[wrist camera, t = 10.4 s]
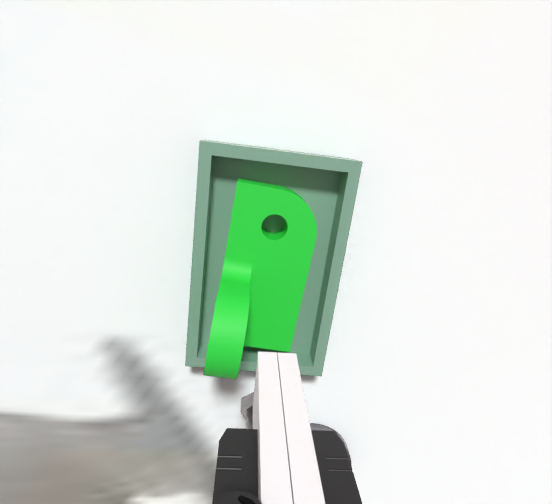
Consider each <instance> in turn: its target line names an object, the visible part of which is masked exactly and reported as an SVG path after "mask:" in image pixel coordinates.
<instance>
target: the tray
mask: <svg viewBox="0 0 552 504" xmlns="http://www.w3.org/2000/svg"><path fill="white" fill-rule="evenodd" d="M361 167H362V161H358V160H354V159H347V158H340V157H332V156H324V155H317V154H309V153H301V152H294V151H286V150H278V149H271V148H263V147H255V146H248V145H240V144H232V143H225V142H217V141H209V140H201V141H200V145H199V160H198V176H197V192H196V207H195V223H194V238H193V254H192V270H191V285H190V301H189V316H188V332H187V347H186V363H185V366H192V367H205V362H206V355H207V349H208V343H209V337H210V332H211V326H212V320H213V315H214V309H215V304H216V299H217V294H218V290H219V285H220V281H221V276H222V270H223V265H224V259H225V253H226V247H227V241H228V234H229V228H230V222H231V216H232V210H233V204H234V198H235V192H236V186H237V180H238V178H242V179H247V180H252V181H258V182H263V183H268V184H273V185H279V186H283V187H286V188H289V189H291V190H293V191H294V192H296V193H297V194H298V195H300V196H301V197H302V198H303V200H304V201H305V202H306V203H307V205H308V206H309V207H310V209H311V211H312V212H313V214H314V217H315V220H316V225H317V237H316V242H315V246H314V250H313V255H312V259H311V263H310V267H309V272H308V276H307V280H306V284H305V289H304V293H303V297H302V301H301V306H300V310H299V314H298V318H297V323H296V327H295V331H294V335H293V340H292V344H291V348H290V352H285V351H278V350H271V349H264V348H257V347H249V346H244V347H243V352H242V358H241V363H240V368H239V370H245V371H256V367H257V357H258V352H277V353H296V355H297V360H298V366H299V371H300V375H312V376H322V371H323V366H324V361H325V355H326V350H327V345H328V340H329V334H330V329H331V324H332V319H333V313H334V308H335V303H336V298H337V293H338V287H339V282H340V277H341V272H342V266H343V261H344V256H345V251H346V245H347V240H348V235H349V230H350V225H351V219H352V214H353V209H354V204H355V198H356V193H357V188H358V183H359V177H360V172H361ZM284 225H285V219H284V218H283V217H282V216H280V215H276V214H273V215H269V216H268V217H266V218H265V219H264V220H263V222H262V227H263V228H264V229H265V230H266V231H267V232H270V233H276V232H279V231H280V230H281V229H282V228H283V227H284Z"/></svg>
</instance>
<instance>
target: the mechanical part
mask: <svg viewBox="0 0 552 504" xmlns="http://www.w3.org/2000/svg"><path fill="white" fill-rule="evenodd" d="M273 214H276V215H280V216H282V217H283V218H284V219H285V225H284V227H283V228H282V229H281V230H280V231H279V232H276V233H270V232H267V231H266V230H265V229H264V228H263V227H262V222H263V220H264V219H265V218H266V217H268V216H269V215H273ZM316 237H317V225H316V220H315V217H314V214H313V212H312V211H311V209H310V207H309V206H308V205H307V203H306V202H305V201H304V200H303V198H302V197H301V196H300V195H298V194H297V193H296V192H294V191H293V190H291V189H289V188H286V187H283V186H279V185H273V184H268V183H263V182H258V181H252V180H247V179H242V178H238V180H237V186H236V192H235V198H234V204H233V210H232V216H231V222H230V228H229V234H228V241H227V247H226V253H225V259H224V265H223V270H222V276H221V281H220V285H219V290H218V294H217V299H216V304H215V309H214V315H213V320H212V326H211V332H210V337H209V343H208V349H207V355H206V362H205V368H204V375H207V376H215V377H222V378H230V379H237V376H238V372H239V368H240V363H241V358H242V352H243V347H244V346H249V347H257V348H264V349H271V350H278V351H285V352H290V348H291V344H292V340H293V335H294V331H295V327H296V323H297V318H298V314H299V310H300V306H301V301H302V297H303V293H304V289H305V284H306V280H307V276H308V272H309V267H310V263H311V259H312V255H313V250H314V246H315V242H316Z"/></svg>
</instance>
